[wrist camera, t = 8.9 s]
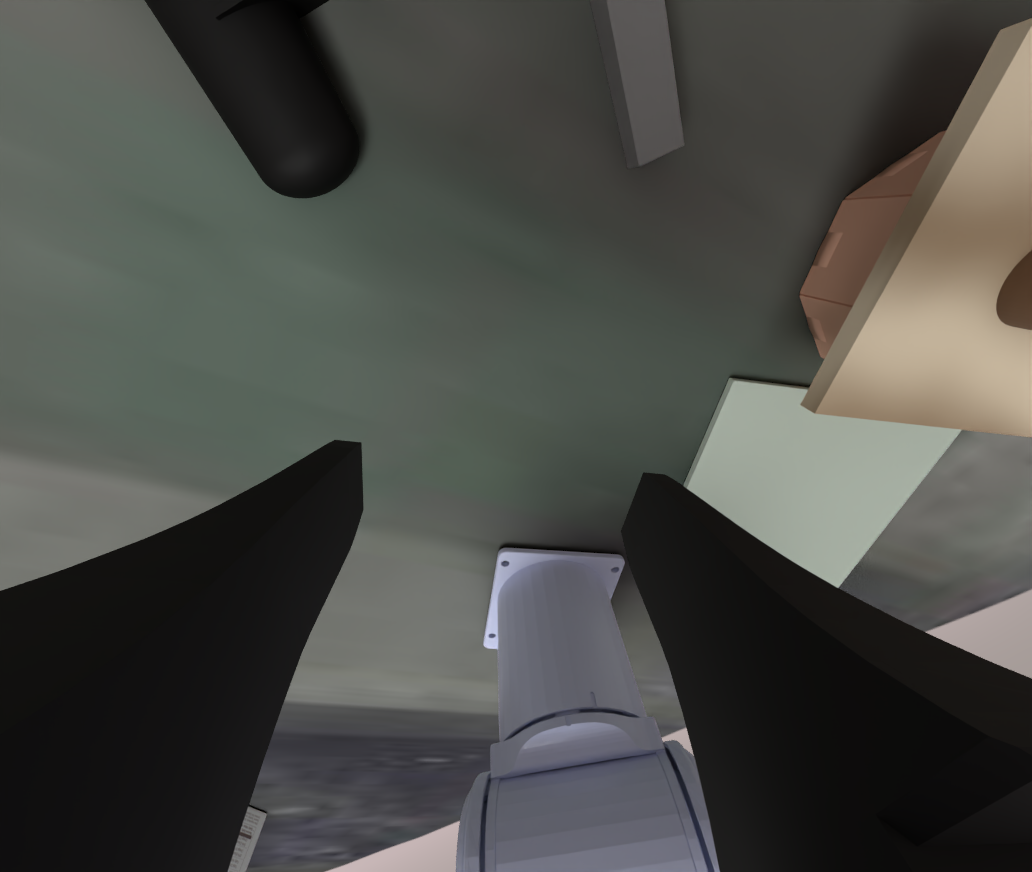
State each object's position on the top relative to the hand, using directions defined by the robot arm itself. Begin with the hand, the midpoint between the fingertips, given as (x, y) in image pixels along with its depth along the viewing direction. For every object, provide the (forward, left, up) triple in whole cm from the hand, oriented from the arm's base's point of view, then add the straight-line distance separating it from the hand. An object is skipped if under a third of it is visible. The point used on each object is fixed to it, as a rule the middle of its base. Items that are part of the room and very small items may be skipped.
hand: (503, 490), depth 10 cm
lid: (+7, -17, -5) cm, 20 cm away
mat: (-6, -18, -9) cm, 22 cm away
